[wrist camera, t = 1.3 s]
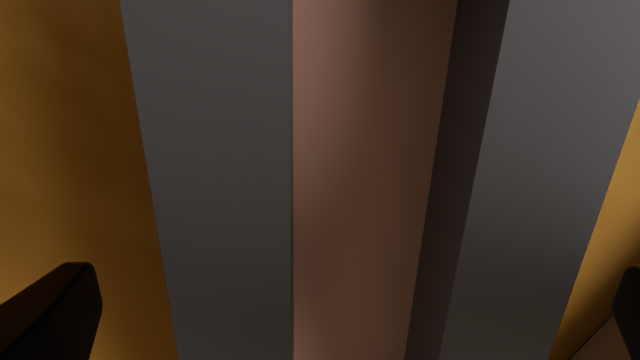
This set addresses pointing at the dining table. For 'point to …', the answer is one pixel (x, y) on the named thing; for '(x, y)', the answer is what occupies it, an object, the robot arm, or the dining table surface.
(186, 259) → the dark gray frame
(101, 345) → the dining table surface
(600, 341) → the walnut board
